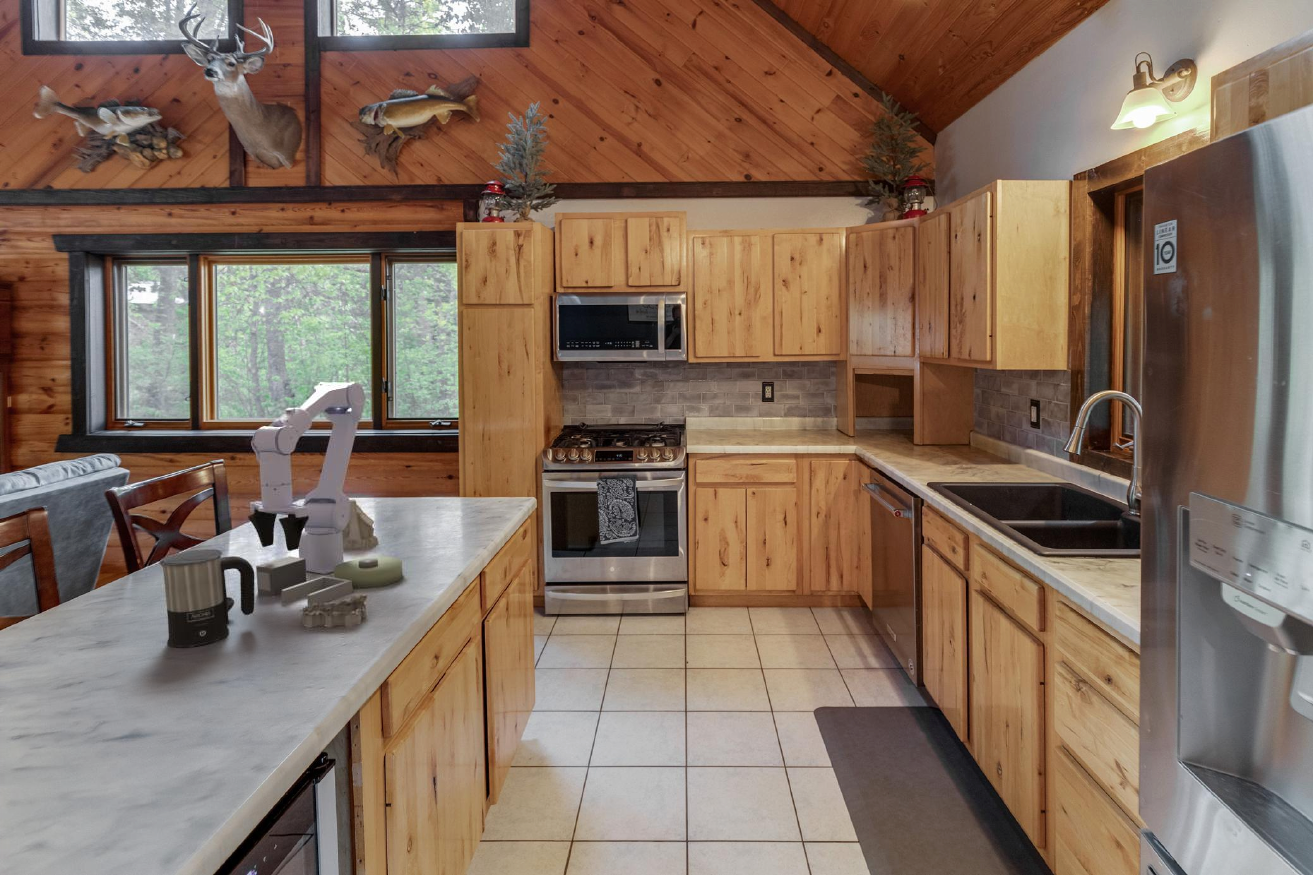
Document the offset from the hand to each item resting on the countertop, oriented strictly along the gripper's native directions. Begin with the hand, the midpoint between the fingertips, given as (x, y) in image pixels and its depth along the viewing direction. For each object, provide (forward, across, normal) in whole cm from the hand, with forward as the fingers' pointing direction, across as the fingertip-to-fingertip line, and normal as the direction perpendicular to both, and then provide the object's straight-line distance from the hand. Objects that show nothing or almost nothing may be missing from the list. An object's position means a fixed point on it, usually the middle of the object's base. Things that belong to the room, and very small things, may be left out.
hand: (280, 547), depth 153 cm
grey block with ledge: (+9, 0, 0) cm, 9 cm away
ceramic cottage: (+9, -18, +34) cm, 40 cm away
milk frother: (+9, +7, -22) cm, 25 cm away
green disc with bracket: (+9, +11, +7) cm, 16 cm away
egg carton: (+10, +25, -9) cm, 28 cm away
